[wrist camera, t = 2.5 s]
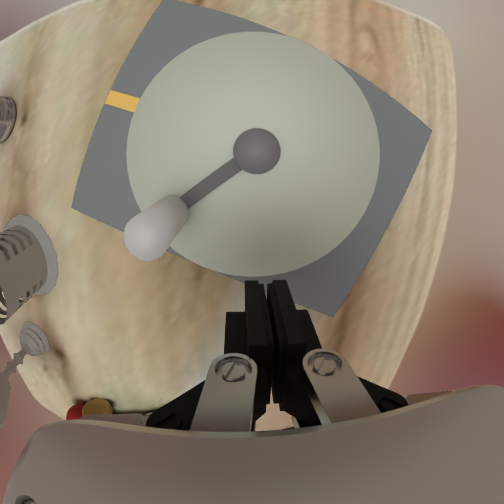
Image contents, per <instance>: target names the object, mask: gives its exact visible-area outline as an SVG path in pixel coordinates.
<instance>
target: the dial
mask: <svg viewBox="0 0 504 504" xmlns="http://www.w3.org/2000/svg"><path fill="white" fill-rule="evenodd" d="M126 156H127V170H128V175H129V180H130V185H131V188H132V191H133V194H134V197H135V200H136V202H137V204H138V206H139V208H140V210H141V213H139V214H138V215H136V216H135V217H133V218H132V219H131V220H130V221H129V222H128V223H127V225H126V226H125V229H124V242H125V245H126V247H127V249H128V251H129V252H130V253H131V254H132V255H133V256H134V257H136V258H138V259H140V260H143V261H153V260H156V259H158V258H160V257H161V256H162V255H163V254H164V253H165V251H166V250H167V248H168V247H169V246H170V247H171V248H172V249H174V250H175V251H176V252H178V253H179V254H181V255H182V256H184V257H185V258H187V259H188V260H190V261H192V262H194V263H196V264H198V265H200V266H202V267H205V268H208V269H211V270H214V271H216V272H220V273H225V274H229V275H234V276H246V277H260V276H271V275H277V274H283V273H286V272H290V271H293V270H297V269H299V268H301V267H304V266H306V265H308V264H311V263H313V262H314V261H316V260H318V259H320V258H321V257H323V256H325V255H326V254H327V253H329V252H330V251H331V250H333V249H334V248H335V247H337V246H338V245H339V244H340V243H341V242H342V241H343V240H344V239H345V238H346V237H347V236H348V235H349V234H350V233H351V231H352V230H353V229H354V228H355V226H356V225H357V224H358V223H359V221H360V219H361V218H362V216H363V214H364V213H365V211H366V209H367V207H368V205H369V202H370V200H371V198H372V196H373V192H374V189H375V186H376V182H377V177H378V171H379V163H380V146H379V137H378V131H377V127H376V123H375V119H374V116H373V114H372V111H371V108H370V106H369V103H368V102H367V100H366V98H365V96H364V94H363V93H362V91H361V89H360V88H359V86H358V85H357V84H356V82H355V81H354V80H353V78H352V77H351V76H350V75H349V74H348V73H347V72H346V71H345V69H344V68H343V67H342V66H341V65H340V64H338V63H337V62H336V61H335V60H333V59H332V58H331V57H330V56H328V55H327V54H326V53H324V52H322V51H321V50H319V49H317V48H315V47H314V46H312V45H310V44H307V43H305V42H303V41H300V40H298V39H295V38H292V37H288V36H285V35H281V34H275V33H268V32H238V33H230V34H225V35H221V36H218V37H214V38H211V39H208V40H206V41H203V42H201V43H198V44H196V45H194V46H192V47H191V48H189V49H187V50H186V51H184V52H182V53H180V54H179V55H178V56H177V57H175V58H174V59H173V60H171V61H170V62H169V63H168V64H167V65H166V66H165V67H164V68H163V69H162V70H161V71H160V72H159V73H158V74H157V75H156V76H155V77H154V78H153V80H152V81H151V82H150V84H149V85H148V87H147V88H146V89H145V91H144V93H143V95H142V96H141V98H140V100H139V102H138V104H137V106H136V109H135V111H134V114H133V117H132V120H131V123H130V128H129V132H128V138H127V151H126Z"/></svg>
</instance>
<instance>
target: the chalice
mask: <svg viewBox="0 0 504 504" xmlns="http://www.w3.org/2000/svg"><path fill="white" fill-rule="evenodd" d="M20 343H21V347H22V349H21V351H20V352H18V353H14V358H13V361H11V362H7V367H6V369H5V371H4V372H2V373H1V372H0V428H1V426H2V425H3V423H4V421H5V420H6V417H7V412H8V406H9V398H10V388H11V386H10V383H9V381H8V378H9V376H10V375H11V374H12V373H13V372H16V367H17V365H18V364H23V358H24V356H25V355H26V354H30V355H32V356H37V355H39V354H42V353H43V352H47V351H48V350H49V343H48V340H47V338H46V336H45V335H44V333H43V332H42V331H41V330H40V328H39V327H37V326H36V325H35V324H33V323H31V322H25V323H24V324H23V329H22V331H21V335H20Z"/></svg>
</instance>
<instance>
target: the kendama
mask: <svg viewBox="0 0 504 504" xmlns="http://www.w3.org/2000/svg"><path fill="white" fill-rule="evenodd" d="M112 412H113V409H112V407H111V405H110V403H109V402H108V401H107V400H105V399H99V398H97V399H93V400H91V401H89V402H87V403H86V404H76V405H74V406H72V407H71V408H70V409H69V410H68V412H67V417H66V420H74V419H79V418H80V417H82V416H84V415H89V414H112ZM143 416H150V415H143Z"/></svg>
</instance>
